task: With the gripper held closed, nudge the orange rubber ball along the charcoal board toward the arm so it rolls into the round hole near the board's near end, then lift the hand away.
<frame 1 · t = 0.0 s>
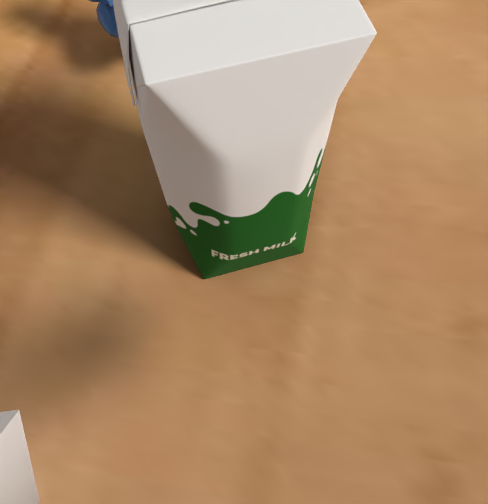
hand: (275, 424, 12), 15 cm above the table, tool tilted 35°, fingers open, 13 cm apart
grapes: (159, 69, 38), on the table
milk carton: (239, 223, 32), on the table
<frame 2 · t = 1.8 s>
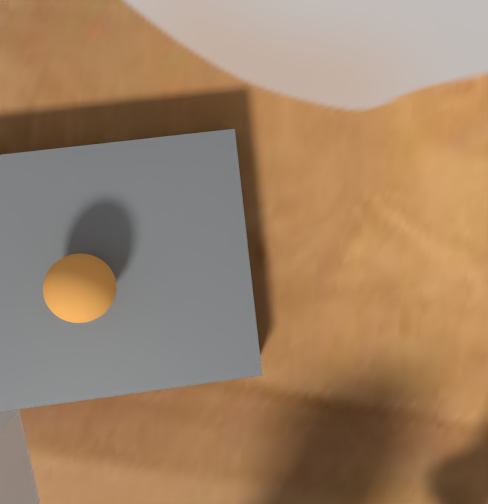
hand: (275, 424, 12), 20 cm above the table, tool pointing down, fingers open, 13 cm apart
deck: (38, 277, 31), on the table
ball: (80, 288, 26), point 4 cm above the table, touching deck
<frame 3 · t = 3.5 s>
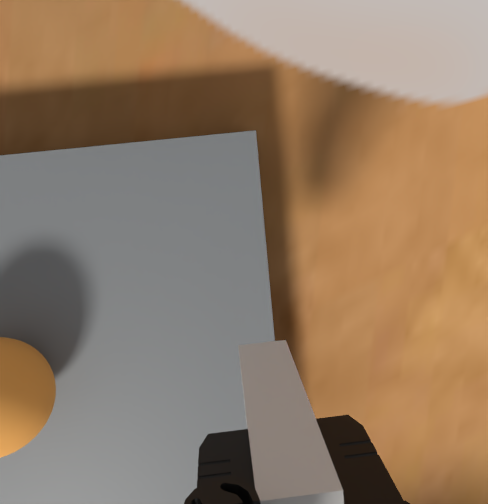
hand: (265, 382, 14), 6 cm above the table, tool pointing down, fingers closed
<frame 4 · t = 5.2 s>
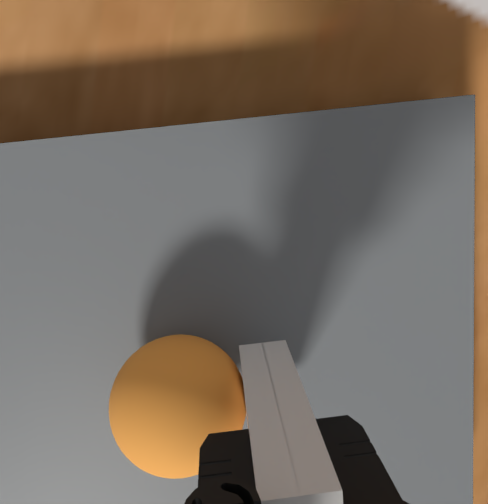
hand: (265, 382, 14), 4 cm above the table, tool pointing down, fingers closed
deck: (86, 354, 18), on the table
ball: (179, 403, 14), point 4 cm above the table, touching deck, gripper
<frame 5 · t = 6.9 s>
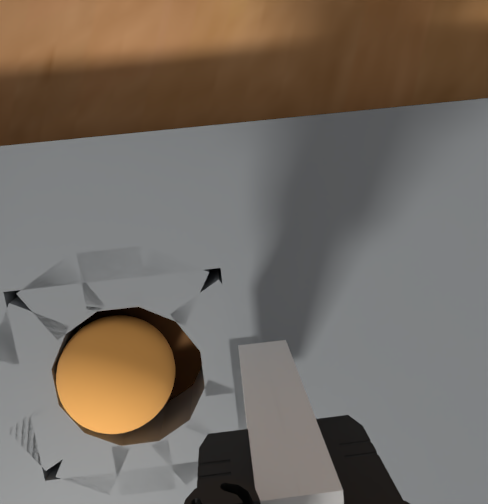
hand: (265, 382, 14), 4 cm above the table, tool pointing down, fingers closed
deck: (316, 327, 18), on the table
ball: (117, 372, 16), point 2 cm above the table, tilted 5°
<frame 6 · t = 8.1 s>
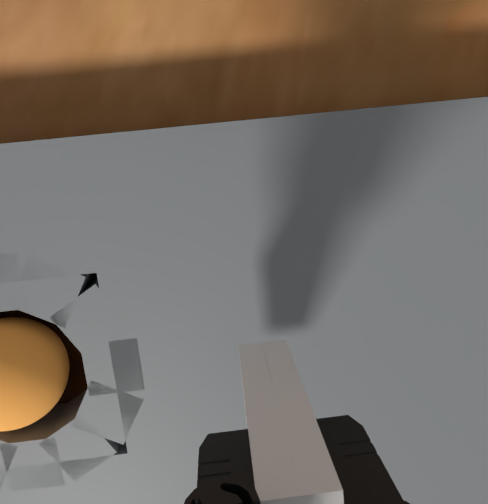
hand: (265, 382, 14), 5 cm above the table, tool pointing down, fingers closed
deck: (211, 329, 19), on the table
ball: (10, 372, 17), point 2 cm above the table, tilted 11°
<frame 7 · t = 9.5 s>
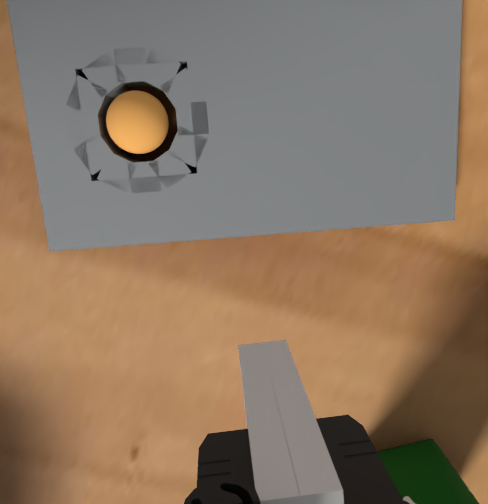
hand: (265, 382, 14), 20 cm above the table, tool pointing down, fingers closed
milk carton: (396, 480, 40), on the table
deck: (244, 117, 32), on the table
ball: (137, 122, 30), point 2 cm above the table, tilted 17°
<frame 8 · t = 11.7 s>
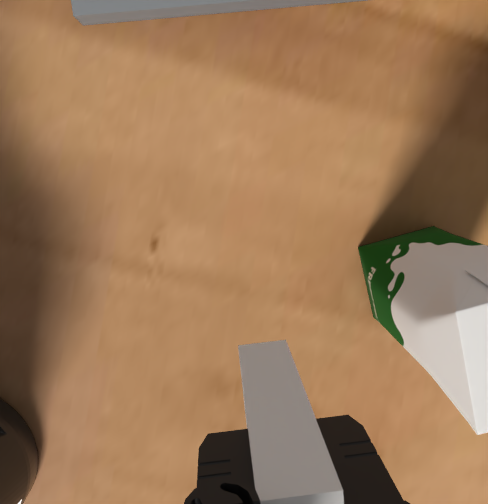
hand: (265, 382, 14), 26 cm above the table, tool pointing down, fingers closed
milk carton: (401, 271, 42), on the table
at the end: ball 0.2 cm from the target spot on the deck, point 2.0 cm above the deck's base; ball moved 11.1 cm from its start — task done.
